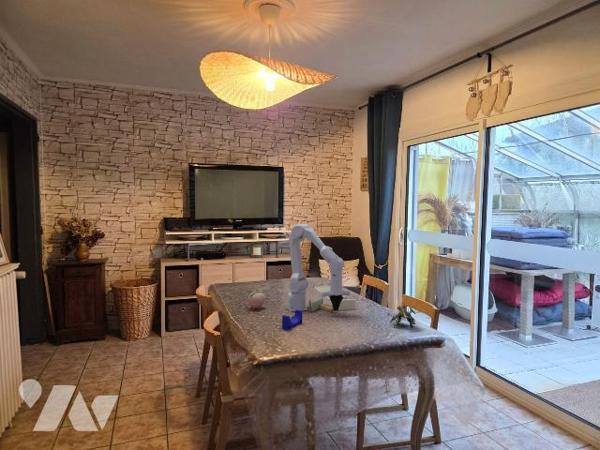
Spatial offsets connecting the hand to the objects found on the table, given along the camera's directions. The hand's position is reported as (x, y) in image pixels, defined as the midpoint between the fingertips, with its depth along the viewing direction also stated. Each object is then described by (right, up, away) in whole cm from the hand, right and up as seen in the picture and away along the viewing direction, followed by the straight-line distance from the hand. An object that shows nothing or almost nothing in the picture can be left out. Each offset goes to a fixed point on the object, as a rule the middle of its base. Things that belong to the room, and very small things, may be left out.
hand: (335, 310), depth 188 cm
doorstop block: (-3, -2, +9) cm, 9 cm away
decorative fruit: (-40, -2, +9) cm, 41 cm away
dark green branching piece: (+28, -4, -17) cm, 33 cm away
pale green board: (-1, -2, +8) cm, 8 cm away
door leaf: (-9, -1, +11) cm, 14 cm away
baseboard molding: (0, -1, +47) cm, 47 cm away
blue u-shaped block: (-21, -3, -17) cm, 28 cm away
